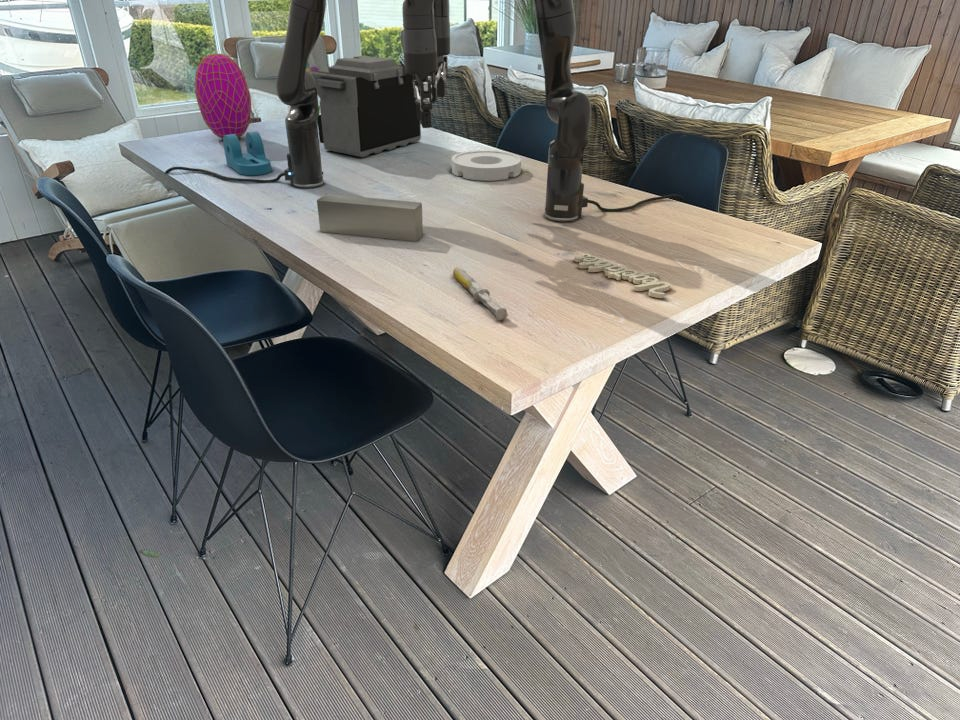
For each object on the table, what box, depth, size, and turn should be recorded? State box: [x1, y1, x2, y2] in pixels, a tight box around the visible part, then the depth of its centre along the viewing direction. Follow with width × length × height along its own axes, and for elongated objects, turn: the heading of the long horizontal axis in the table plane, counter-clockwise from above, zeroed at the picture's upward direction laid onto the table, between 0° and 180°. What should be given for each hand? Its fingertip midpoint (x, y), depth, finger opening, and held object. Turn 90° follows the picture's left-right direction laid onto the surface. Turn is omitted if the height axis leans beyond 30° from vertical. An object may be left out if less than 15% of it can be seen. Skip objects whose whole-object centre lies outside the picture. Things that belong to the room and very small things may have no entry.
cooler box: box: [311, 55, 422, 159], centre depth 250 cm, size 37×22×30 cm, turn 144°
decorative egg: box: [194, 53, 252, 140], centre depth 258 cm, size 19×19×30 cm
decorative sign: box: [574, 252, 671, 299], centre depth 155 cm, size 26×1×10 cm
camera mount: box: [222, 131, 272, 176], centre depth 226 cm, size 18×10×10 cm, turn 35°
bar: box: [316, 193, 424, 242], centre depth 176 cm, size 26×5×8 cm, turn 76°
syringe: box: [452, 266, 509, 321], centre depth 145 cm, size 25×4×3 cm, turn 21°
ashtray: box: [451, 149, 522, 182], centre depth 228 cm, size 23×23×4 cm
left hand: (436, 99), depth 190 cm, fingers open, 8 cm apart
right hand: (424, 123), depth 164 cm, fingers open, 8 cm apart
